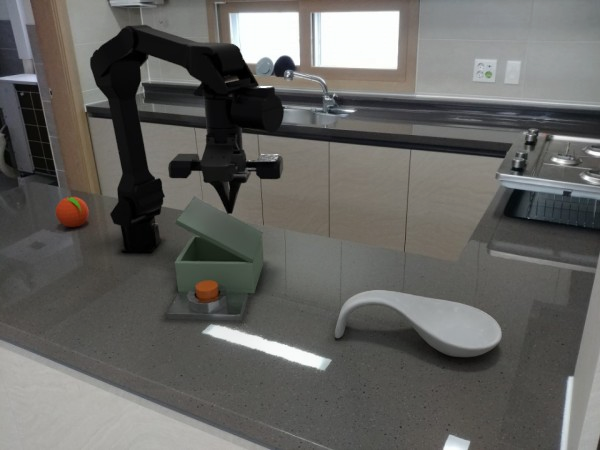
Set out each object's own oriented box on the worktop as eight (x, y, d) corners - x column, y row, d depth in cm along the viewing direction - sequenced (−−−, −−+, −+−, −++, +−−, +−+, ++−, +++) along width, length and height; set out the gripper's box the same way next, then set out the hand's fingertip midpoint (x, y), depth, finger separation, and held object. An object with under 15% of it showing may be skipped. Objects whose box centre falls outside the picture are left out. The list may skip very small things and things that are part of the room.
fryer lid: (174, 223, 89) (176, 220, 89) (192, 199, 100) (194, 196, 100) (251, 263, 91) (253, 259, 91) (261, 235, 102) (263, 232, 101)
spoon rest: (494, 326, 83) (499, 286, 80) (504, 375, 72) (511, 330, 69) (341, 312, 87) (341, 273, 84) (330, 356, 77) (330, 313, 74)
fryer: (178, 292, 95) (174, 262, 92) (195, 262, 105) (192, 235, 103) (254, 293, 93) (252, 264, 91) (263, 263, 104) (262, 236, 102)
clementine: (99, 226, 123) (94, 196, 120) (70, 235, 118) (64, 205, 115) (81, 217, 128) (76, 189, 125) (53, 227, 123) (46, 198, 120)
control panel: (167, 319, 87) (165, 303, 85) (179, 297, 93) (177, 281, 92) (240, 321, 86) (239, 305, 84) (248, 298, 92) (247, 283, 91)
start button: (194, 300, 87) (192, 290, 86) (199, 289, 90) (198, 280, 89) (215, 300, 86) (214, 291, 86) (220, 289, 90) (219, 280, 89)
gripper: (152, 136, 81) (164, 230, 88) (274, 137, 80) (277, 232, 86) (173, 120, 92) (182, 205, 98) (282, 121, 90) (284, 207, 96)
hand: (230, 213), depth 94 cm, fingers closed
